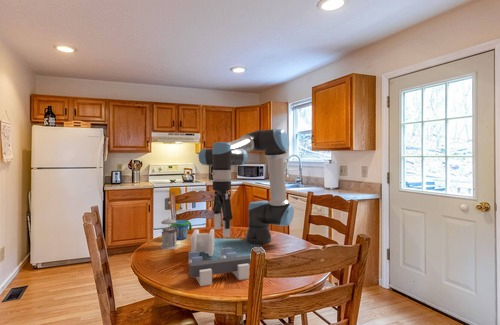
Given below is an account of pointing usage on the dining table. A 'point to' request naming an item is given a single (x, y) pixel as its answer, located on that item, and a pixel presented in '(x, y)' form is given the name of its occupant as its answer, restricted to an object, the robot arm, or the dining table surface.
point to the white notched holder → (206, 274)
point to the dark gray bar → (218, 265)
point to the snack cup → (181, 228)
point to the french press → (169, 235)
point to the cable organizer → (202, 242)
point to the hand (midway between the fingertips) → (221, 232)
